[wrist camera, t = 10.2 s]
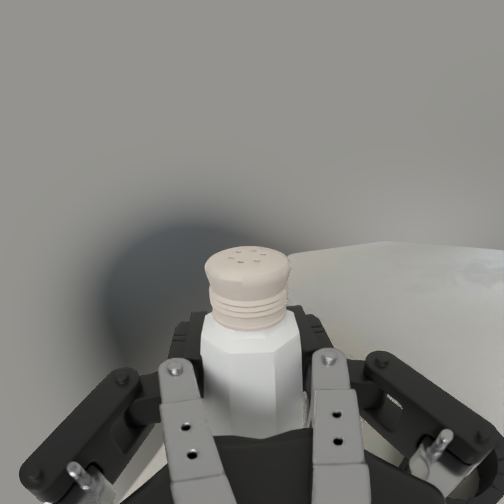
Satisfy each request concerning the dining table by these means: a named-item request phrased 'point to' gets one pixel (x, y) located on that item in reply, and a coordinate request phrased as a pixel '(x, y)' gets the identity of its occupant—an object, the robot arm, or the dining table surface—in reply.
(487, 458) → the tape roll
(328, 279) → the dining table surface
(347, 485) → the robot arm
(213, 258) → the pepper shaker
